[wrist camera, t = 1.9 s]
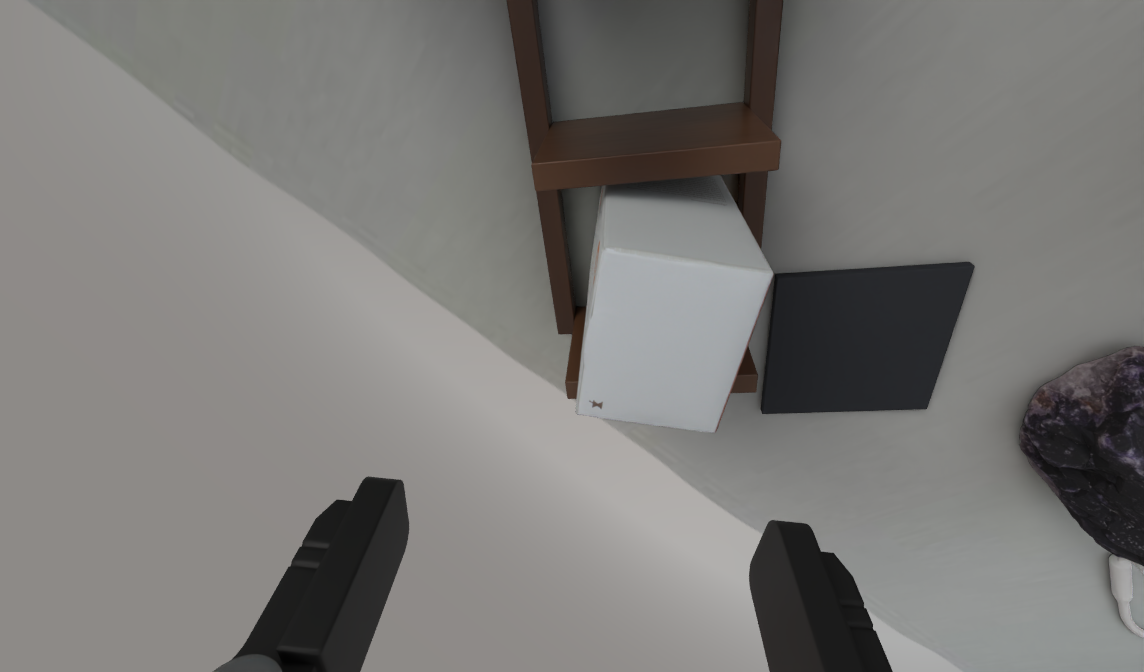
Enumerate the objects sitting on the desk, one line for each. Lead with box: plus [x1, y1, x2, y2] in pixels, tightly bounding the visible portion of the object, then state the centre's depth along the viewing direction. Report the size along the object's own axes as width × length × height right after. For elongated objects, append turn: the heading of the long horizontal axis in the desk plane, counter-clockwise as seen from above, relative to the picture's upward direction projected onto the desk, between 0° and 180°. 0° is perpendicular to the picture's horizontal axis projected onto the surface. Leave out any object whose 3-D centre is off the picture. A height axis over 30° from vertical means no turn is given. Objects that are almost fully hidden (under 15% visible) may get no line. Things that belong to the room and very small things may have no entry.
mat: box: [761, 262, 975, 414], centre depth 34 cm, size 11×11×1 cm
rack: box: [507, 0, 783, 399], centre depth 25 cm, size 12×24×8 cm, turn 7°
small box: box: [576, 175, 774, 433], centre depth 26 cm, size 8×6×13 cm
